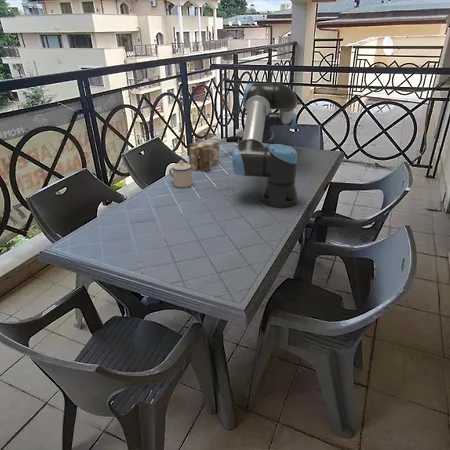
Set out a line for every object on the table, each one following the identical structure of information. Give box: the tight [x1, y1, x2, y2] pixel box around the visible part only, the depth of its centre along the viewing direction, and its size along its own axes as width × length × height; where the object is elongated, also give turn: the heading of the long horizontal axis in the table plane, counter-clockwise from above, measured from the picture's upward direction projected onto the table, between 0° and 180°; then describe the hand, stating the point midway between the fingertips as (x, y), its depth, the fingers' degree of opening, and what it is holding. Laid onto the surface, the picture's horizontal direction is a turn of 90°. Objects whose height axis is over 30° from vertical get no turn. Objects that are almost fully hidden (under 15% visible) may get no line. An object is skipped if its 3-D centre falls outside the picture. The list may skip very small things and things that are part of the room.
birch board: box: [190, 140, 220, 172], centre depth 185 cm, size 17×3×12 cm, turn 131°
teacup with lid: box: [168, 160, 193, 188], centre depth 164 cm, size 12×9×12 cm
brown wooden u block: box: [187, 142, 211, 173], centre depth 183 cm, size 14×3×12 cm, turn 41°
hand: (225, 145), depth 192 cm, fingers open, 13 cm apart
